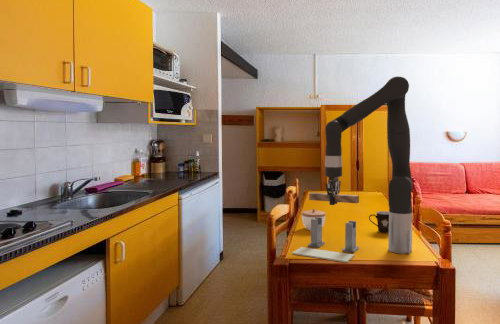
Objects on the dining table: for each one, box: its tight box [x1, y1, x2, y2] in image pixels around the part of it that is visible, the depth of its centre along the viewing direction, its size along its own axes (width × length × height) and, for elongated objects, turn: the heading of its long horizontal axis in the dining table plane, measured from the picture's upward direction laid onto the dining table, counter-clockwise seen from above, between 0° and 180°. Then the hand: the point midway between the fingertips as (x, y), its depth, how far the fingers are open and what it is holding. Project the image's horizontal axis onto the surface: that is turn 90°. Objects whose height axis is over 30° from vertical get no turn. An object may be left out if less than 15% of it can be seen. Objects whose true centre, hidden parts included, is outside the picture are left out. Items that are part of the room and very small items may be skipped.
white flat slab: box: [291, 246, 355, 263], centre depth 176 cm, size 24×10×1 cm, turn 60°
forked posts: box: [307, 217, 360, 254], centre depth 187 cm, size 21×8×12 cm, turn 60°
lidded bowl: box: [301, 208, 327, 232], centre depth 223 cm, size 13×13×11 cm
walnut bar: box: [308, 192, 360, 204], centre depth 186 cm, size 22×3×3 cm, turn 60°
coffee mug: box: [368, 210, 389, 234], centre depth 217 cm, size 12×9×10 cm
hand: (333, 204), depth 186 cm, fingers closed on walnut bar, 3 cm apart
